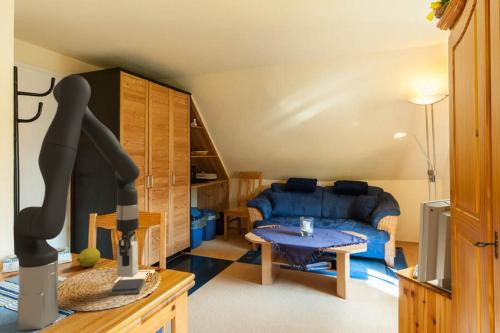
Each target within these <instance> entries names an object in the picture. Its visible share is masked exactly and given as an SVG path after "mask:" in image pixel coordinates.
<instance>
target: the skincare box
mask: <svg viewBox="0 0 500 333" xmlns="http://www.w3.org/2000/svg"><path fill="white" fill-rule="evenodd" d="M138 244H139V242H138V241H136V240H135V241H132V244H131V248H130V249H129V265H128V266H122V256H120V252H119V242H118V243H117V244H116V275H117V278H118V277H134V276H135V275H136V274H137V273H138V270H139V259H138V258H139V253H138V252H139V251H138V250H139V249H138V248H139V246H138ZM128 246H129V244H128V245H127V247H128ZM124 252H125V250H124Z"/></svg>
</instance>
